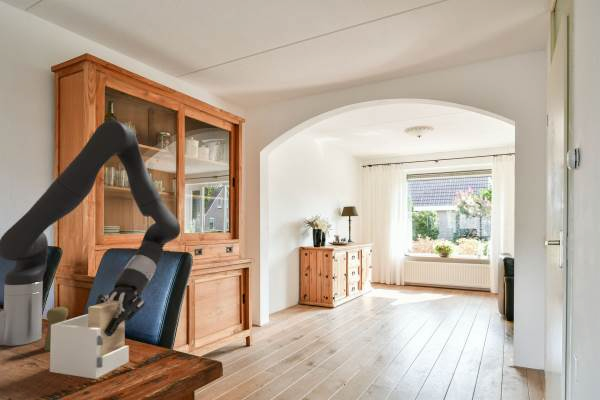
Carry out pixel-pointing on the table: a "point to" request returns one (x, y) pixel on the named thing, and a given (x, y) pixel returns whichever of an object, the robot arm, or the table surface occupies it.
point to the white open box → (82, 350)
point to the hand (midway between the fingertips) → (100, 333)
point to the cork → (54, 322)
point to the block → (101, 318)
